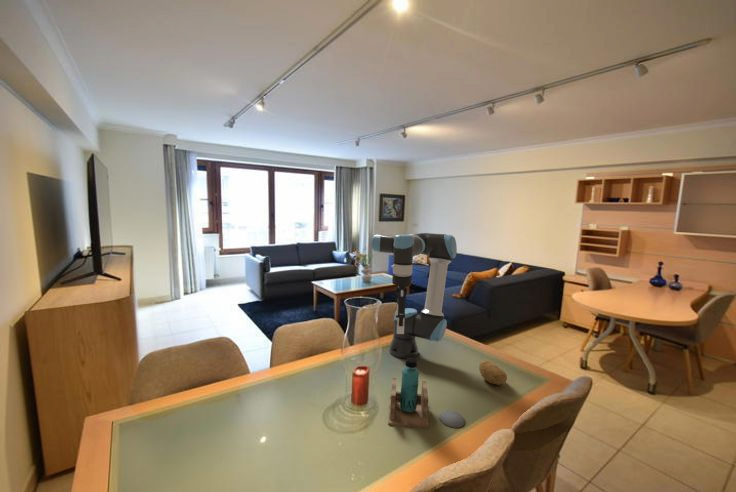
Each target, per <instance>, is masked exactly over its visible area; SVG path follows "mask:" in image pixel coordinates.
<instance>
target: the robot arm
mask: <svg viewBox="0 0 736 492" xmlns="http://www.w3.org/2000/svg"><path fill="white" fill-rule="evenodd" d="M457 248H458V247H457V241H456V238H455V236H453V235H452V234H451V235H450V234H446V233H444V234H443V233H431V232H430V233H429V232H420V233H411V234H404V233H403V234H402V233H399V234H396V235H392V234H391V235H388V234H374V236H372V239H371V249H372V251H374V252H378V253H386V254H393V260H392V261H393V262H392V263H393V265H391V266H390V268H392V273H393V274H392V277H391V279H392V280H391V281H392V285H394V286H397V287H396V311H395V312H394V316H393V317H394V318H393V336H392V337H393V338H392V340H391V342H390V344H389V349H388V351H389V353H390V354H391V355H392V356H394V357H395V358H399V359H407V358H413V359H414V358H416V357H417V356H418V354H419V347H418V344H417V340H416V338H419V339H423V340H427V341H429V342H436V343H437V342H441V340H442V339H443V337H444V335H445V332H446V330H447V323H448V321H447V320H446V319H445V314H444V313H443V312H442V311H443V310H442V309H443V303H444V296H445V295H444V294H445V287H446V280H447V274H448V269H449V268H448V267H449V266H448V265H449V264H450V263H452V261H453V259H456V256H457V254H458V253H457ZM419 255H423V256H425V255H426V256H428V260H429V261H430V267H429V268H430V269H429V273H428V274H429V275H428V281H427V289H426V295H425V302H424V308H423V309H422V310H420V313H418V310H417V309H416V308H410V307H407V308H406V301H407V294H408V289H407V287H410V286H411V285H412V284H413V283H412V282H413V281H412V280H413V276H412V274H413V268H414V267H413V262H414V261H413V259H414V257H415V256H419Z"/></svg>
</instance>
